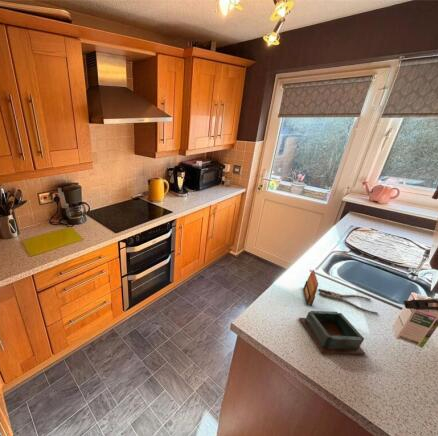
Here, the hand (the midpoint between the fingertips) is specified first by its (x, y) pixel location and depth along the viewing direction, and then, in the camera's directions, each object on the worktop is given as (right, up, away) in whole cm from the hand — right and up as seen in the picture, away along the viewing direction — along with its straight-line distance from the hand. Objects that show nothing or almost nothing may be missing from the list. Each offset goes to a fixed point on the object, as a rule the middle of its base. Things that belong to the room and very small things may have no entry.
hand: (419, 305), depth 68 cm
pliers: (+6, -11, +32) cm, 34 cm away
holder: (-14, -18, +17) cm, 28 cm away
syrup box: (0, -11, +4) cm, 12 cm away
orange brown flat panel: (-9, -10, +34) cm, 37 cm away
